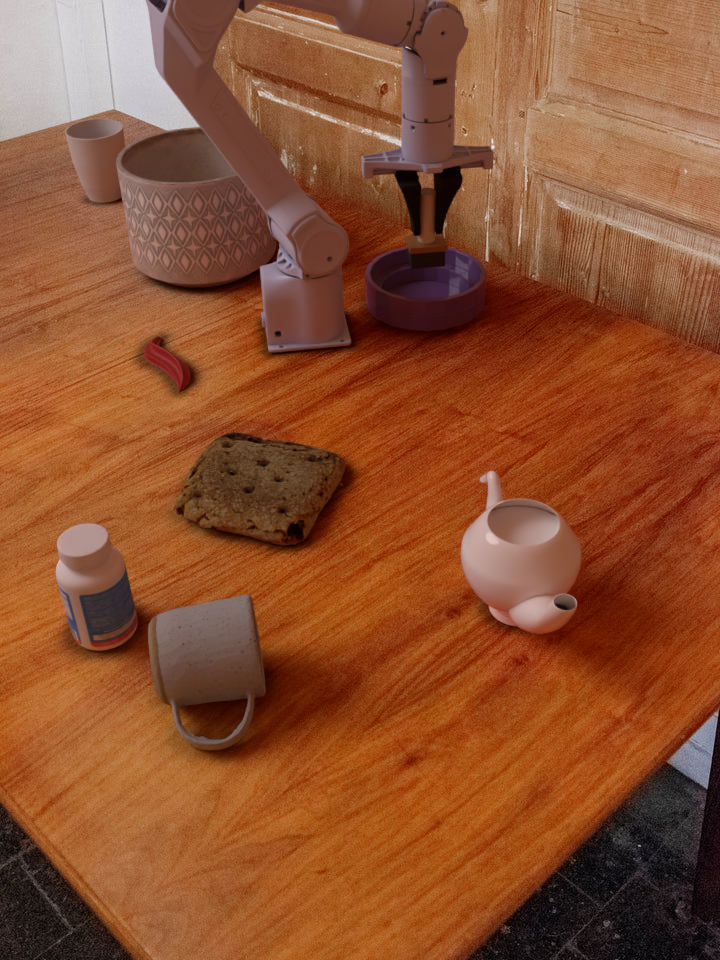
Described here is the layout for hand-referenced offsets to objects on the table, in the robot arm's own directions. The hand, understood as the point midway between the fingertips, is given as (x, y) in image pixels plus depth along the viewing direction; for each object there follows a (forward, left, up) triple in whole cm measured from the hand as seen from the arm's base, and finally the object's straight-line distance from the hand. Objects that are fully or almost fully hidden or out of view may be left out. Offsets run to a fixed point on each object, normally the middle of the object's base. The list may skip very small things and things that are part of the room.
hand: (426, 231), depth 126 cm
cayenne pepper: (-31, -8, -10) cm, 33 cm away
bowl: (0, 0, -10) cm, 10 cm away
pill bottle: (-36, -49, -10) cm, 61 cm away
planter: (-26, +17, -10) cm, 33 cm away
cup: (-40, +41, -10) cm, 58 cm away
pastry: (-22, -33, -10) cm, 41 cm away
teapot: (-2, -52, -10) cm, 53 cm away
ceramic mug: (-27, -58, -10) cm, 64 cm away
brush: (0, 0, -4) cm, 4 cm away
